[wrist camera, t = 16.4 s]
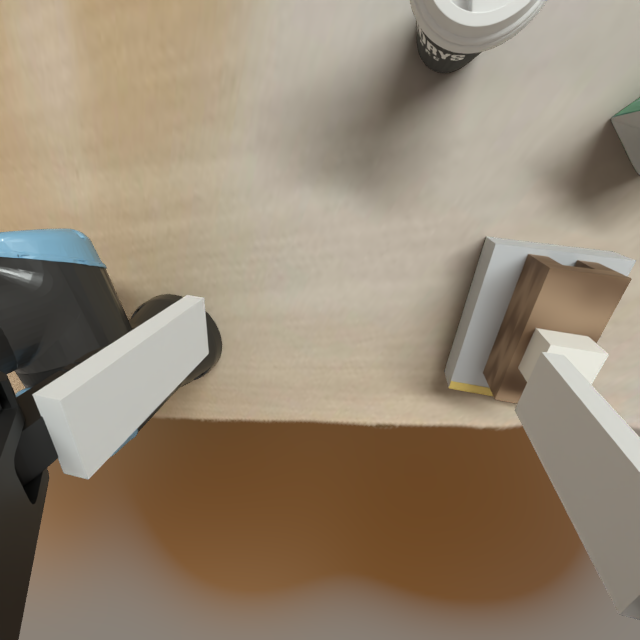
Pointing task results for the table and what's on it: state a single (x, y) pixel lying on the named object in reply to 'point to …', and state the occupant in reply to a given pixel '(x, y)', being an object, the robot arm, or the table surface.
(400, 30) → the table surface
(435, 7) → the coffee cup
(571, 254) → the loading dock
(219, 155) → the table surface
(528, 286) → the notched wooden block
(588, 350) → the small white block
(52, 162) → the table surface
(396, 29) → the table surface
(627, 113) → the box
